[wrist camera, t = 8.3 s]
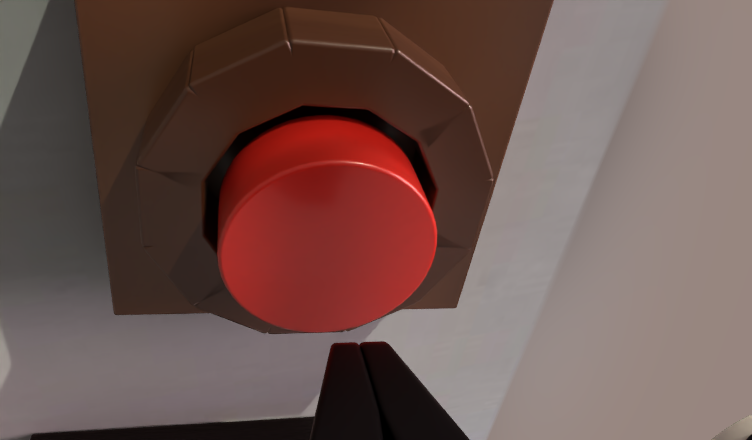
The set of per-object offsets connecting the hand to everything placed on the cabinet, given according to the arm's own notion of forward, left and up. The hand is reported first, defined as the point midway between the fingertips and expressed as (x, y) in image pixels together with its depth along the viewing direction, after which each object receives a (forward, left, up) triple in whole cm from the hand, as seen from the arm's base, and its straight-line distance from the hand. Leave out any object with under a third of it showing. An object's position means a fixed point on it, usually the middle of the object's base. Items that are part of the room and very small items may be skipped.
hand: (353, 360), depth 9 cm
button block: (0, 0, -8) cm, 8 cm away
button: (0, 0, -4) cm, 4 cm away
